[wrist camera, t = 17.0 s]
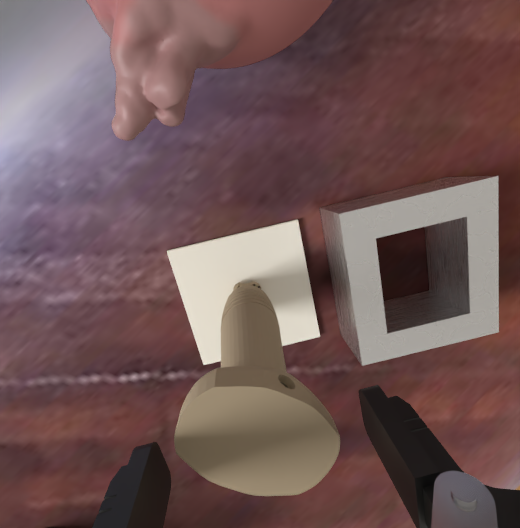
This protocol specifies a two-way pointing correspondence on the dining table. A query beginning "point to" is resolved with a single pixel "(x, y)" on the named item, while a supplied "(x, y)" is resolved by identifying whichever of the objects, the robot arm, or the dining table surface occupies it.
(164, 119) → the balloon
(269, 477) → the handle
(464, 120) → the dining table surface
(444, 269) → the collar
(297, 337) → the mat
